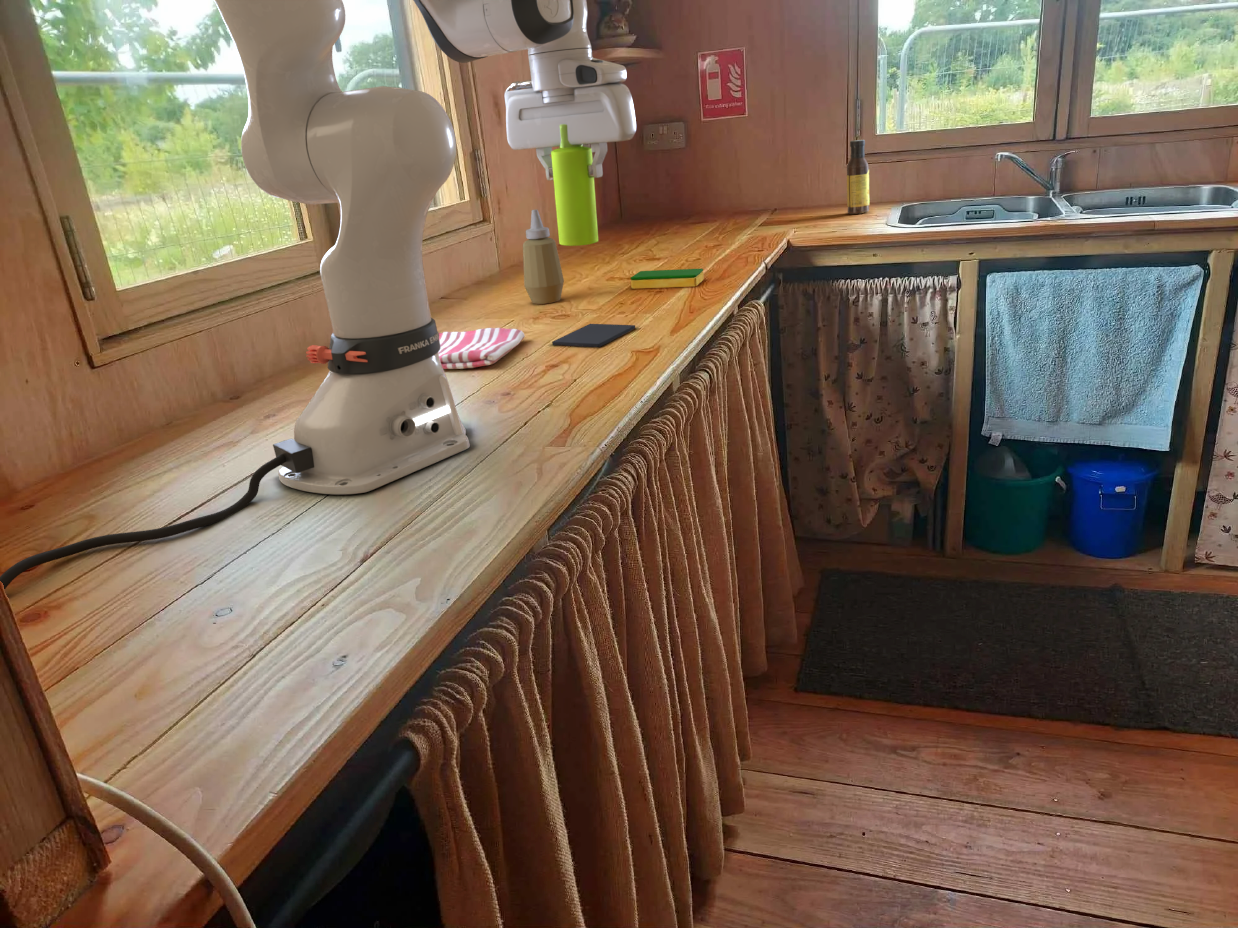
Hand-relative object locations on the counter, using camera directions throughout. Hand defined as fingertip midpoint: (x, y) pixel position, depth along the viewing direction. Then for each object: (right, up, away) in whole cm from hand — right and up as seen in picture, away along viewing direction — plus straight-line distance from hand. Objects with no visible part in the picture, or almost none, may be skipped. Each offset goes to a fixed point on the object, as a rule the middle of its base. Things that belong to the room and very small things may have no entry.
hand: (575, 178), depth 127 cm
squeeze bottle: (-8, -9, +50) cm, 51 cm away
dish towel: (-22, -24, +15) cm, 36 cm away
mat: (+2, -20, +18) cm, 27 cm away
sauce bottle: (+76, +31, +126) cm, 150 cm away
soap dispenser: (+1, -9, +4) cm, 9 cm away
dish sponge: (+17, -4, +54) cm, 57 cm away
